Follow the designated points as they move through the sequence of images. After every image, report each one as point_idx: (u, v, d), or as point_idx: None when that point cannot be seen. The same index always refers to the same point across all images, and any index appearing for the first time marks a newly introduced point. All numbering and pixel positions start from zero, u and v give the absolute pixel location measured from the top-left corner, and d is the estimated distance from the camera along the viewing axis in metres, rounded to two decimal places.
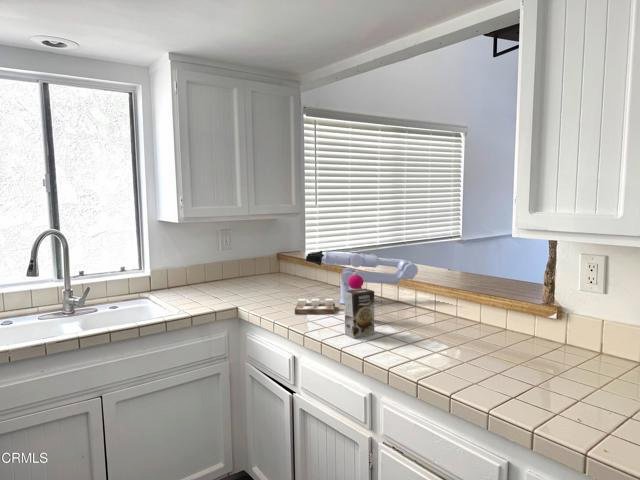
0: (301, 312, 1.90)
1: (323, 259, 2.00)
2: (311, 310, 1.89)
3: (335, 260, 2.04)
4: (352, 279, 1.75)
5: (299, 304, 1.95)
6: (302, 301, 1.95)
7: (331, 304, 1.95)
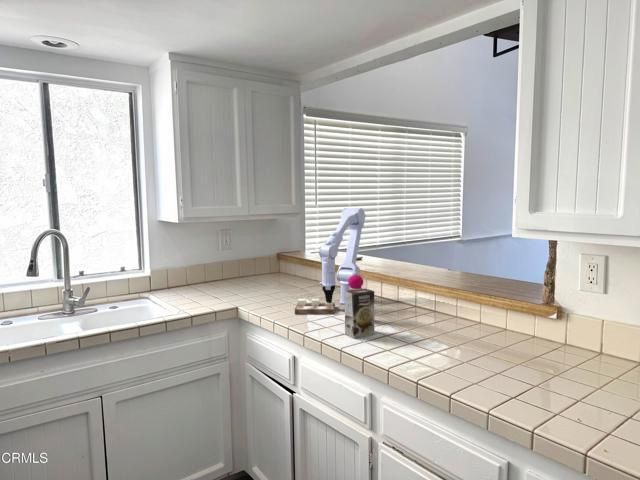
0: (301, 312, 1.90)
1: (327, 288, 1.88)
2: (311, 310, 1.89)
3: (329, 273, 1.92)
4: (352, 279, 1.75)
5: (299, 304, 1.95)
6: (302, 301, 1.95)
7: None
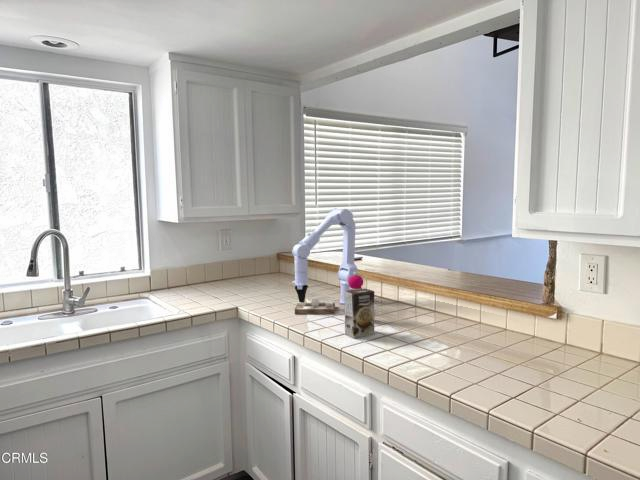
0: (301, 312, 1.90)
1: (298, 287, 1.89)
2: (311, 310, 1.89)
3: (301, 273, 1.93)
4: (352, 279, 1.75)
5: None
6: (302, 303, 1.95)
7: None
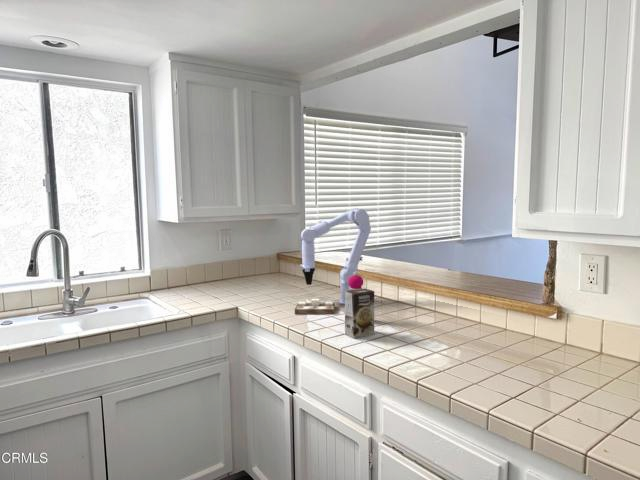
0: (301, 312, 1.90)
1: (306, 269, 1.97)
2: (311, 310, 1.89)
3: (308, 256, 2.01)
4: (352, 279, 1.75)
5: None
6: (302, 304, 1.95)
7: None
